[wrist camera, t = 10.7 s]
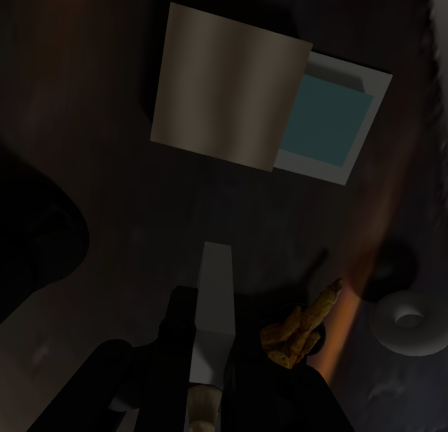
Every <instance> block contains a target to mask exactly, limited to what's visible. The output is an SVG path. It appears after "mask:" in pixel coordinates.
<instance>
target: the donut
mask: <svg viewBox="0 0 448 432" xmlns="http://www.w3.org/2000/svg"><path fill="white" fill-rule="evenodd" d="M407 314H417V315H420V316H422V317H423V321H422V322H421V323H420V324H419V325H417V326H414V327H401V326H399V325H397V324H396V322H397V320H398V319H399V318H400V317H402V316H403V315H407ZM370 326H371V329H372V332H373V334H374V335H375V337H376V338H377V339H378V340H379V341H380V343H381V344H382V345H384V346H386V347H387V348H389V349H390V350H392V351H394V352H397V353H400V354H404V355H408V356H424V355H429V354H434V353H436V352H438V351H440V350H441V349H443V348H445V347H446V346H447V345H448V305H447V304H446V303H445V302H443V301H442V300H441V299H439V298H438V297H436V296H435V295H432V294H430V293H427V292H424V291H418V290H400V291H396V292H393V293H390V294H388V295H386V296H384V297H382V298H381V299H380V300H379V301H378V302H377V303H376V304H375V305H374V307H373V309H372V311H371V313H370Z"/></svg>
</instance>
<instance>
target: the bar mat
mask: <svg viewBox="0 0 448 432" xmlns="http://www.w3.org/2000/svg"><path fill="white" fill-rule="evenodd" d="M303 74H305V75H309V76H312V77H315V78H318V79H321V80H324V81H328V82H331V83H334V84H337V85H340V86H343V87H347V88H350V89H353V90H356V91H359V92H362V93H365V94H369V95H372V96H374V98H373V100H372V102H371V104H370V107H369V109H368V111H367V113H366V115H365V118H364V120H363V122H362V124H361V127H360V129H359V131H358V133H357V135H356V138H355V140H354V142H353V144H352V147H351V149H350V151H349V153H348V156H347V158H346V160H345V162H344V164H343V167H339V166H336V165H332V164H329V163H326V162H322V161H319V160H315V159H312V158H309V157H305V156H302V155H298V154H295V153H292V152H288V151H285V150H281V149H279V150H278V153H277V156H276V160H275V163H274V166H273V167H277V168H281V169H285V170H288V171H292V172H296V173H300V174H304V175H307V176H311V177H315V178H319V179H323V180H326V181H330V182H334V183H338V184H342V185H345V184H346V181H347V179H348V177H349V175H350V172H351V170H352V168H353V165H354V163H355V161H356V158H357V156H358V154H359V152H360V149H361V147H362V145H363V142H364V140H365V138H366V136H367V133H368V131H369V129H370V126H371V124H372V122H373V120H374V117H375V115H376V113H377V110H378V108H379V106H380V104H381V101H382V99H383V97H384V94H385V92H386V90H387V87H388V85H389V83H390V81H391V78H392V76H393V75H390V74H387V73H384V72H380V71H377V70H373V69H370V68H366V67H363V66H359V65H356V64H353V63H349V62H346V61H342V60H339V59H335V58H332V57H328V56H325V55H322V54H318V53H315V52H310V55H309V58H308V61H307V64H306V67H305V70H304V73H303Z"/></svg>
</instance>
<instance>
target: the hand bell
mask: <svg viewBox="0 0 448 432" xmlns="http://www.w3.org/2000/svg"><path fill="white" fill-rule="evenodd" d="M222 393H223V392H222V391H221V390H219V389H218V388H216V387H214V386H209V385H196V386H193V387H191V388H189V389H188V396H187V405H186V409H187V411H188V415H189V431H190V432H214V430H215V423H216V419H217V416H218V414H219V413H217V412H218V407H219V404H220V400H221V397H222Z"/></svg>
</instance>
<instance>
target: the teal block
mask: <svg viewBox="0 0 448 432" xmlns="http://www.w3.org/2000/svg"><path fill="white" fill-rule="evenodd" d="M373 98H374V96H372V95H369V94H365V93H362V92H359V91H356V90H353V89H350V88H347V87H343V86H340V85H337V84H334V83H331V82H328V81H324V80H321V79H318V78H315V77H312V76H309V75H305V74H303V77H302V80H301V83H300V86H299V89H298V92H297V95H296V98H295V101H294V104H293V107H292V110H291V113H290V116H289V120H288V123H287V126H286V129H285V132H284V135H283V138H282V141H281V144H280V147H279V149H281V150H285V151H288V152H292V153H295V154H298V155H302V156H305V157H309V158H312V159H315V160H319V161H322V162H326V163H329V164H332V165H336V166H339V167H343V164H344V162H345V160H346V158H347V156H348V153H349V151H350V149H351V147H352V144H353V142H354V140H355V138H356V135H357V133H358V131H359V129H360V127H361V124H362V122H363V120H364V118H365V115H366V113H367V111H368V109H369V107H370V104H371V102H372V100H373Z"/></svg>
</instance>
